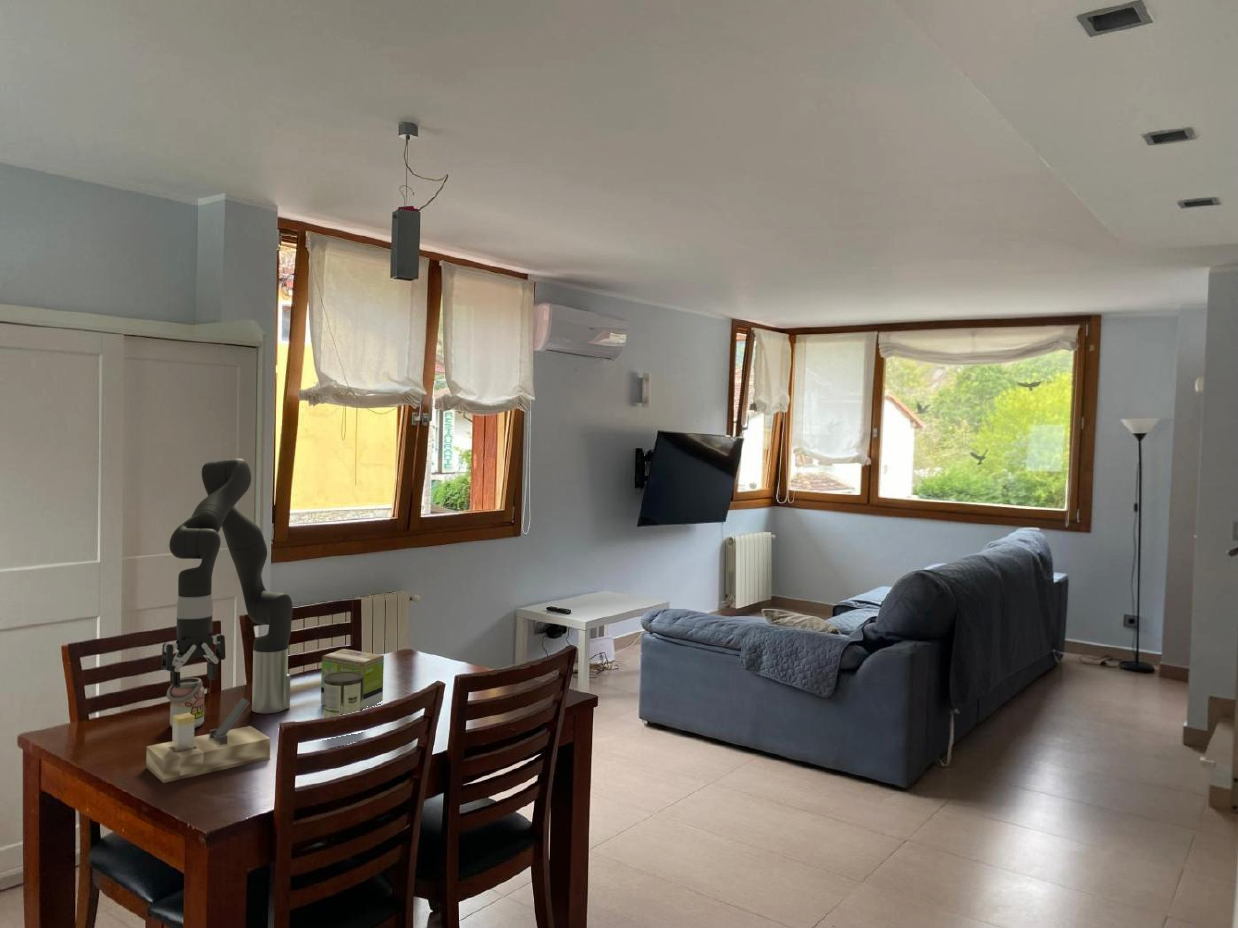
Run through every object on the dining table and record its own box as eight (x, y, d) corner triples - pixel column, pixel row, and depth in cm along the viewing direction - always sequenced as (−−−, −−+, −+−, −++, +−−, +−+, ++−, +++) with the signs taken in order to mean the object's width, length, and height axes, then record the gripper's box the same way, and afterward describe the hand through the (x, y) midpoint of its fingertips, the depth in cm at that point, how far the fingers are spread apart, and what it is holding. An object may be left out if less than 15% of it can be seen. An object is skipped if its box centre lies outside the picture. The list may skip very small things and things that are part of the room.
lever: (245, 699, 221) (240, 696, 221) (251, 703, 219) (247, 700, 218) (215, 738, 217) (211, 735, 216) (221, 742, 214) (217, 740, 213)
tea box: (319, 705, 261) (320, 654, 261) (342, 696, 271) (343, 647, 270) (362, 713, 256) (363, 661, 255) (383, 703, 265) (385, 653, 265)
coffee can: (338, 720, 249) (339, 669, 248) (370, 725, 245) (371, 673, 245) (314, 731, 239) (315, 678, 238) (347, 736, 236) (348, 683, 235)
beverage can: (187, 733, 235) (188, 687, 234) (159, 729, 236) (160, 684, 236) (210, 722, 244) (211, 678, 243) (183, 719, 245) (184, 675, 245)
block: (249, 745, 227) (250, 718, 227) (269, 758, 218) (270, 730, 218) (146, 767, 210) (146, 738, 210) (163, 782, 201) (164, 752, 201)
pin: (188, 761, 213) (189, 712, 212) (193, 765, 210) (194, 716, 210) (171, 764, 210) (172, 715, 210) (177, 769, 208) (178, 719, 207)
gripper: (214, 607, 218) (213, 674, 219) (155, 616, 207) (155, 686, 207) (232, 611, 214) (231, 679, 215) (173, 621, 202) (172, 693, 203)
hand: (193, 683), depth 211 cm, fingers open, 8 cm apart
